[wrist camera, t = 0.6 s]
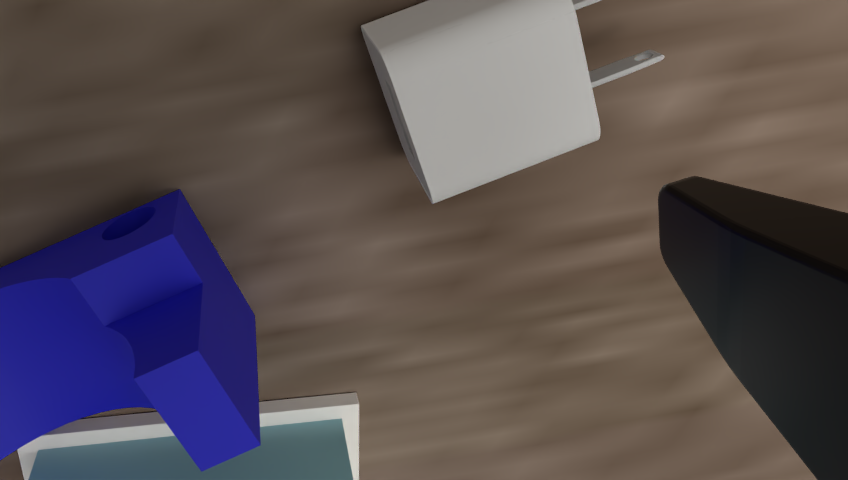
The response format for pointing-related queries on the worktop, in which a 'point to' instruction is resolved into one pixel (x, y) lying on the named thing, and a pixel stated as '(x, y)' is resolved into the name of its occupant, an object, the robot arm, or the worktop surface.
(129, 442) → the end holder
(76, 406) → the cable clip
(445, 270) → the worktop surface
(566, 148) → the usb wall charger
